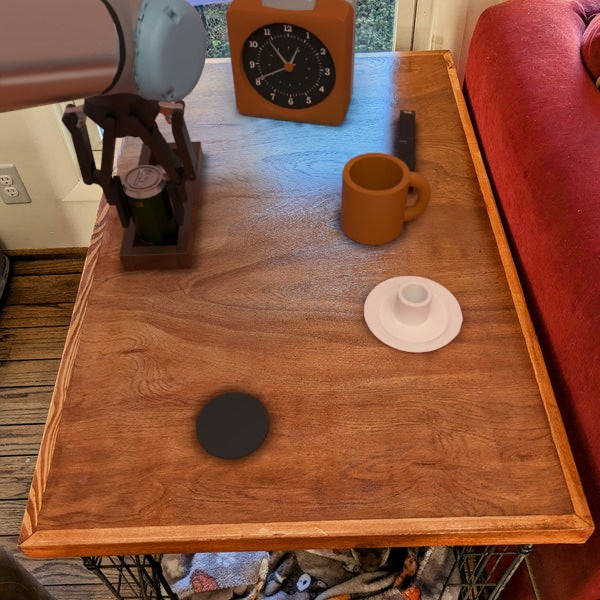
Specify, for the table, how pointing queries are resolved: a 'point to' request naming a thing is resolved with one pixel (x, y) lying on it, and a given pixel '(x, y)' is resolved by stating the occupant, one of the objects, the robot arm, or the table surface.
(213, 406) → the coaster
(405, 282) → the candle holder
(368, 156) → the mug
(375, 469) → the table surface
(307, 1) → the alarm clock
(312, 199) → the table surface
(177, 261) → the can rack
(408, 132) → the black long bar
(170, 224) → the beer can
